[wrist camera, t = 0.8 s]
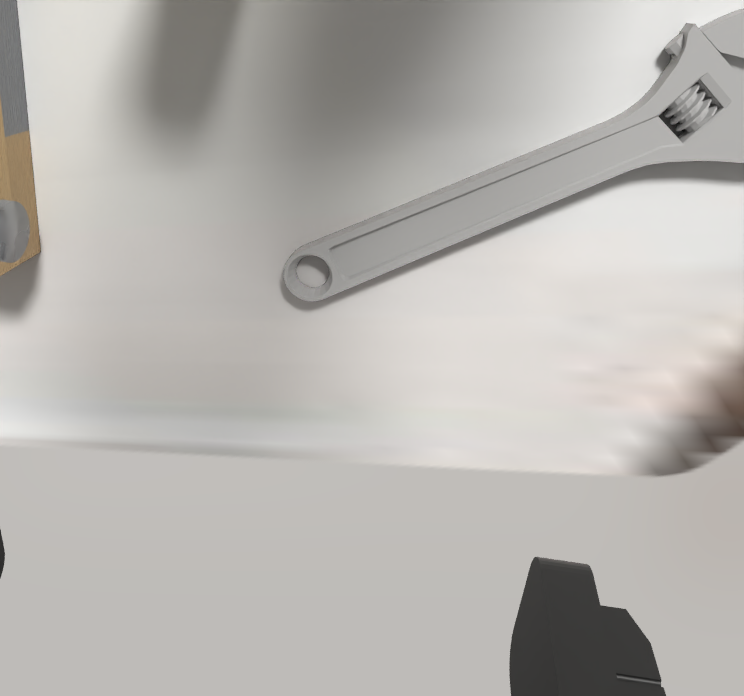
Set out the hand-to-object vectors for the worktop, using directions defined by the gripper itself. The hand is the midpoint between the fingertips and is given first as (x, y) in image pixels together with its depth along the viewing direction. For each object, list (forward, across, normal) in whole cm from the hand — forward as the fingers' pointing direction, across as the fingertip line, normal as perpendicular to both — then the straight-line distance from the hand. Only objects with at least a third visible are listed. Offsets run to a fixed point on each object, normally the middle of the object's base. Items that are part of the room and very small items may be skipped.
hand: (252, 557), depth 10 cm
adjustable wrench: (+25, -6, -1) cm, 26 cm away
